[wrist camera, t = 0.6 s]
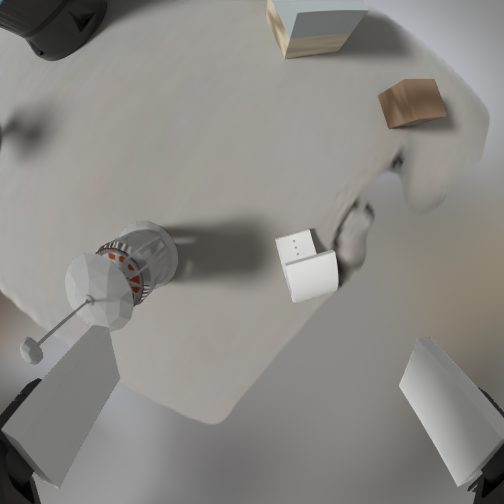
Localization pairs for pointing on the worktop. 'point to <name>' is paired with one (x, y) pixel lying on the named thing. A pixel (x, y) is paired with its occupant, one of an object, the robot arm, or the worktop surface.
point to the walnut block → (412, 103)
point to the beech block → (301, 39)
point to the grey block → (319, 16)
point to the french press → (115, 280)
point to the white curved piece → (306, 266)
